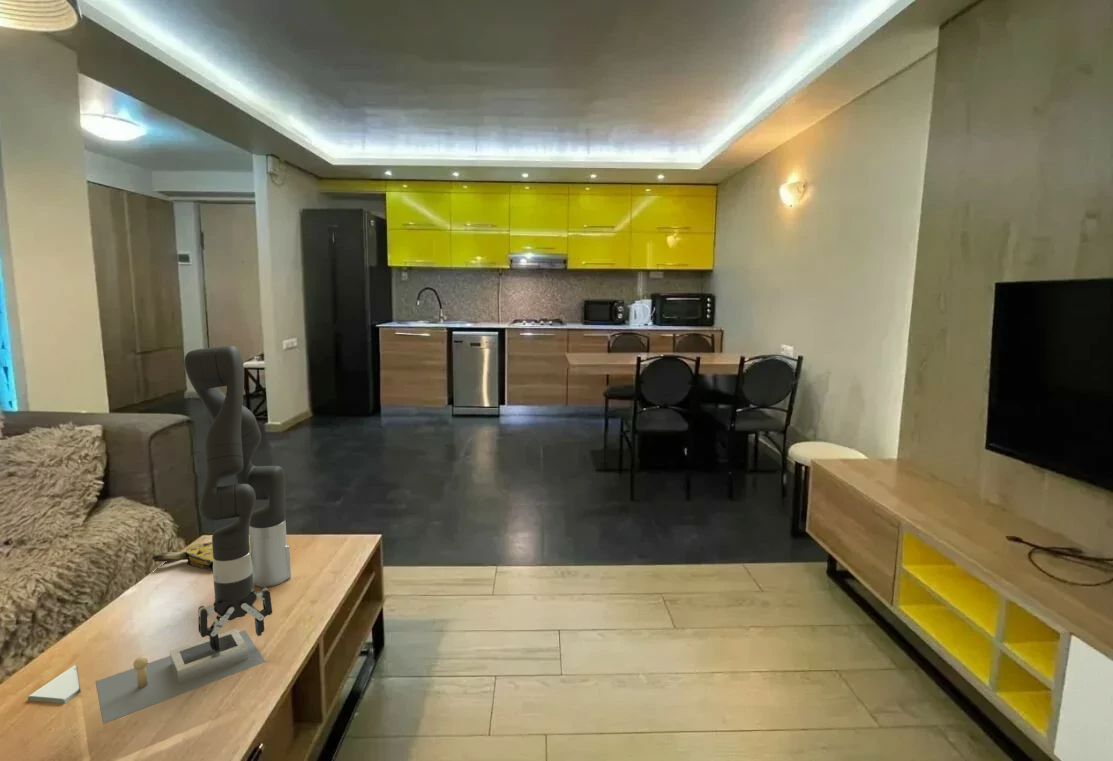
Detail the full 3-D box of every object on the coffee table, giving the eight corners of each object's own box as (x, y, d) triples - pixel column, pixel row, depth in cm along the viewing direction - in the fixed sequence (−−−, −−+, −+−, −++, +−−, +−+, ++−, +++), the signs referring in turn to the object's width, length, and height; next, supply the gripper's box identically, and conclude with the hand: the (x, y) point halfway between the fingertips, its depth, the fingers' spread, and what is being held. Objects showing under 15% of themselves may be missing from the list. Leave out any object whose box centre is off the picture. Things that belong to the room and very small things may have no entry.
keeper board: (245, 634, 138) (243, 605, 137) (265, 666, 126) (263, 635, 125) (96, 686, 119) (92, 653, 118) (104, 729, 107) (100, 693, 106)
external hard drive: (28, 703, 115) (84, 663, 127) (65, 706, 114) (118, 666, 126) (27, 695, 115) (84, 657, 127) (64, 698, 114) (118, 659, 126)
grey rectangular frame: (237, 640, 133) (236, 628, 133) (248, 658, 127) (247, 646, 126) (170, 663, 125) (169, 651, 124) (178, 684, 118) (177, 671, 118)
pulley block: (163, 535, 179) (267, 530, 183) (166, 551, 180) (269, 546, 185) (140, 562, 165) (252, 556, 170) (143, 579, 167) (254, 573, 172)
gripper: (263, 558, 134) (267, 623, 137) (192, 577, 125) (197, 646, 127) (273, 569, 129) (277, 637, 131) (199, 590, 119) (205, 662, 122)
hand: (238, 641), depth 129 cm, fingers open, 8 cm apart
